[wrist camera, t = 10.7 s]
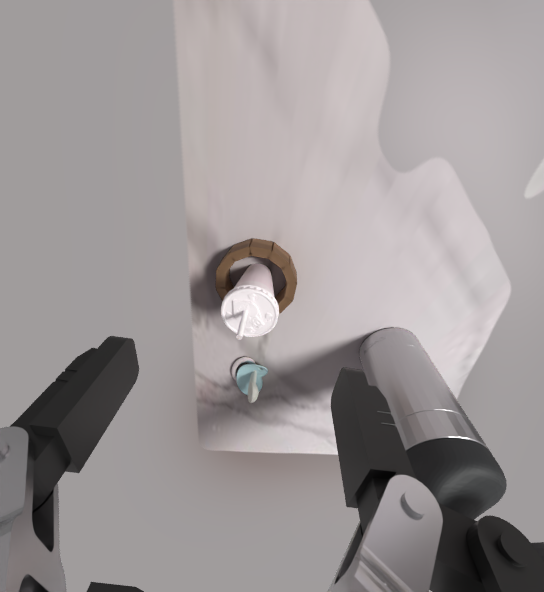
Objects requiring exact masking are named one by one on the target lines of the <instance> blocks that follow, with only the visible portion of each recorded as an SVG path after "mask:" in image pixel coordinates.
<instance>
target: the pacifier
mask: <svg viewBox="0 0 544 592" xmlns="http://www.w3.org/2000/svg"><path fill="white" fill-rule="evenodd" d="M244 362H247V363H250V364H245V365H243V366H241V367H240V369H239V370H238V373H237V372H236V369H237V367H238V366H239V365H240V364H241V363H244ZM260 368H262V369H260ZM231 372H232V376H233V378H234V380H235V381H237V384H238V387H239V389H240V390H241V391H242V392H243V393H244V394H246V395H248V401H249V403H253V402H255V401H256V400H257V398H258V394H259V391H260V390H261V388H262V383H263V382H262V376H265V375H266V374H267V373H268V370H267V368H265V367H263V366H260V365H257V364H256V363H255V362H254V360H252V359H251V358H249V357H242V358H239V359H238V360H237V361H235V363H234V364H233V366H232V371H231ZM256 384H257V386H256Z"/></svg>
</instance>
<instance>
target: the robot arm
mask: <svg viewBox="0 0 544 592" xmlns="http://www.w3.org/2000/svg"><path fill="white" fill-rule="evenodd" d="M359 356H360V360H361V363H362V366H363V369H364V371H363V370H358V369H351V368H342V369H341V371H340V374H339V377H338V379H337V382H336V385H335V387H334V390H333V393H332V397H331V411H332V418H333V424H334V430H335V436H336V443H337V449H338V455H339V461H340V468H341V474H342V480H343V487H344V493H345V500H346V506H347V507H353V508H358V511H359V517H360V522H359V523H358V526H357V528H356V530H355V532H354V535H353V537H352V539H351V541H350V543H349V546H348V548H347V550H346V552H345V555H344V557H343V559H342V561H341V564H340V566H339V568H338V570H337V572H336V575H335V577H334V579H333V581H332V584H331V586H330V587H329V589H328V592H429V590H431V591H432V592H544V542H542V543H530V542H529V540H528V539H527V538H526V537H525V536H524V535H523V534H522V533H521V532H520V531H519V530H518V529H517V528H515V527H514V526H513V525H511V524H510V523H508V522H507V521H505V520H503V519H501V518H499V517H495V516H485V517H483V518H481V519H480V520H479V521H475V520H474V519H475V518H477V517H478V516H479V515H481V514H482V513H484V512H485V511H486V510H488V509H489V508H491V507H492V506H494V505H495V504H496V503H497V502H498V501H499V500H500V499H501V497H502V496H503V495H504V493H505V490H506V479H505V476H504V473H503V471H502V469H501V468H500V466H499V465H498V463H497V461H496V460H495V458H494V457H493V455H492V454H491V452H490V451H489V449H488V447H487V446H486V444H485V443H484V441H483V440H482V438H481V436H480V435H479V434H478V432H477V430H476V429H475V427H474V426H473V424H472V423H471V421H470V420H469V418H468V417H467V415H466V414H465V412H464V410H463V409H462V407H461V406H460V404H459V403H458V401H457V399H456V398H455V396H454V395H453V393H452V392H451V390H450V389H449V387H448V385H447V384H446V382H445V381H444V379H443V378H442V376H441V375H440V373H439V371H438V370H437V368H436V367H435V365H434V364H433V362H432V361H431V359H430V357H429V356H428V354H427V353H426V351H425V350H424V348H423V346H422V345H421V343H420V342H419V340H418V339H417V337H416V336H415V335H414V334H413V333H412V332H410V331H408V330H405V329H401V328H387V329H383V330H380V331H377V332H375V333H373V334H372V335H370V336H369V337H368V338H367V339H365V341H364V342H363V343H362V345H361V347H360V351H359ZM138 372H139V365H138V360H137V354H136V349H135V344H134V341H133V339H130V338H123V337H115V336H110V337H108V338H107V339H106V340H105V341H104V342H103V343H102V344H101V345H100V346H99V347H98V349H95V348H91V349H90V350H88V351H86V352H85V353H83V354H82V355H80V356H78V357H77V358H76V359H75V360H74V361H73V362H72V363H71V364H70V365H69V366H68V367H67V368H66V369H65V372H62V373H61V374H60V375H59V376H58V378H57V379H56V381H55V382H53V383H52V384H51V385H50V386H49V387H48V388H47V389H46V390H45V391H44V392H43V393H42V394H41V395H40V396H39V397H38V398H37V399H36V400H35V401H34V403H33V404H32V405H31V406H30V407H29V408H28V409H27V410H26V411H25V412H24V413H23V414H22V415H21V416H20V417H19V418H18V419H17V420H16V421H15V422H14V423H13V424H12V425H11V426H10V427H4V428H0V592H66V581H65V574H64V570H63V566H62V563H61V558H60V549H59V504H58V503H59V499H58V484H57V483H58V481H59V480H60V478H61V477H62V475H63V474H64V472H65V471H67V472H76V473H79V472H80V471H81V469H82V468H83V466H84V464H85V462H86V461H87V459H88V458H89V456H90V455H91V453H92V451H93V450H94V448H95V447H96V445H97V443H98V442H99V440H100V439H101V437H102V435H103V434H104V432H105V431H106V429H107V427H108V426H109V424H110V422H111V421H112V419H113V418H114V416H115V414H116V413H117V411H118V410H119V408H120V406H121V405H122V403H123V402H124V400H125V398H126V397H127V395H128V394H129V392H130V390H131V389H132V387H133V385H134V384H135V382H136V380H137V376H138ZM87 592H144V591H142V590H140V589H138V588H137V587H132V586H122V585H113V584H105V583H96V582H91V584H90V586H89V588H88V590H87Z"/></svg>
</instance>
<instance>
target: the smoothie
mask: <svg viewBox="0 0 544 592" xmlns="http://www.w3.org/2000/svg"><path fill="white" fill-rule="evenodd" d="M278 315H279V306H278V303H277V301H276V299H275V297H274V290H273V283H272V276H271V272H270V270H269V268H268V267H267V266H265V265H263V264H259V263H257V264H252V265H250V266H249V267H248V268H247V269H246V271H245V272H244V274H243V275H242V277H241V278H240V280H239V281H238V283H237V284H236V286H235V287H234V289H232V290H231V291H229V292H228V293H227V295H226V296H225V297H224V300H223V302H222V306H221V316H222V319H223V321H224V323H225V324H226V326H227V327H228V328H229V329H230V330H232V331H233V332H235V333H237V335H236V338H237V339H239V340H240V339H242V336H247V337H257V336H261V335H264V334H266V333H268V332H269V331H271V330H272V329H273V328H274V326H275V325H276V323H277V320H278Z"/></svg>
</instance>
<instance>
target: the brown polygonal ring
mask: <svg viewBox="0 0 544 592" xmlns="http://www.w3.org/2000/svg"><path fill="white" fill-rule="evenodd" d="M249 256H255V257H261V258H267V259H269V260H271V261H272V262H273V263H274V264H276V265H277V266H278V267H280V268H281V269H282V271H283V274H284V276H285V279H286V284H285V287H284V288H283V289H282V290H281V291H280V292H279V293H278V294H277V296H276V297H275V299H276V301H277V303H278V306H279V313H281V312H282V311H283V310H284V309H285V308H286V307H287V306H288V305H289V304H290V303H291V302H292V300H293V299H294V294H295V290H296V285H297V273H296V270H295V267H294V264H293V262H292V259H291V256H289V254H288V253H287V252H286V251H285V250H283V249H282V248H281V247H280V246H278V245H277V244H276V243H275V242H274V243H273V242H272V241H266V240H260V239H254V238H253V240H252V239H249V240H246V241H243V242H241V243H238V244H235V245H234V246H232V248H231V249H230V250H229V251H228V253H227V254H226V255H225V257H224V258H223V259H222V261H221V263H220V264H219V266H218V268H217V270H216V290H217V292H218V294H219V296H220V297H221V299H222V301H223V300H224V297H225V296H226V295H227V293H228V292H229V291H231V290H232V289H234V286H233V284H232V282H231V280H230V278H229V274H230V267H231V266H232V265H233V263H234V262H235V261H238V260H240V259H243V258H246V257H249Z"/></svg>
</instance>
